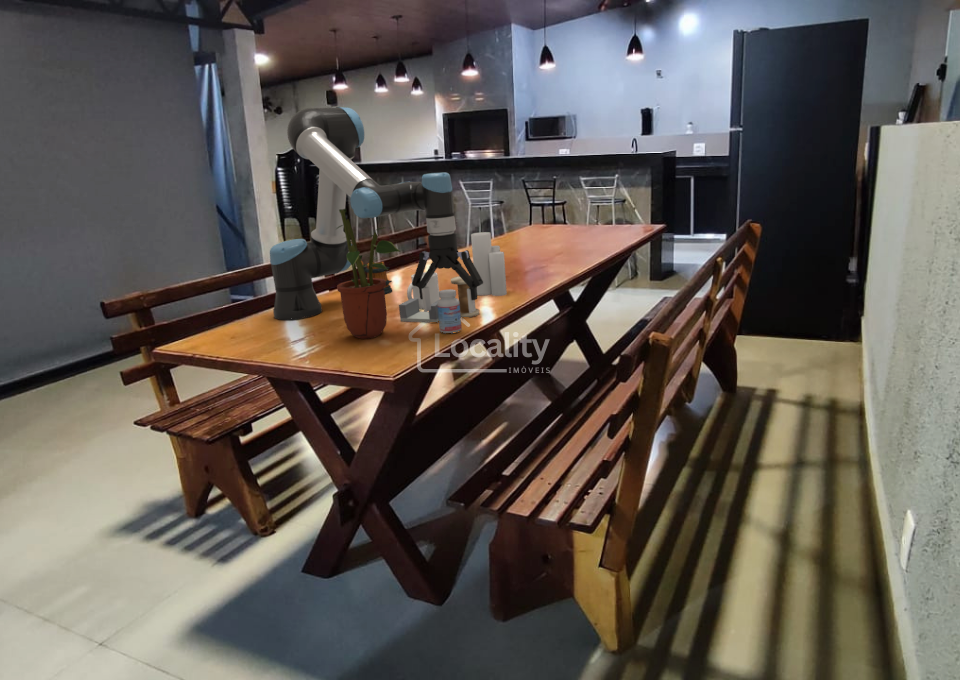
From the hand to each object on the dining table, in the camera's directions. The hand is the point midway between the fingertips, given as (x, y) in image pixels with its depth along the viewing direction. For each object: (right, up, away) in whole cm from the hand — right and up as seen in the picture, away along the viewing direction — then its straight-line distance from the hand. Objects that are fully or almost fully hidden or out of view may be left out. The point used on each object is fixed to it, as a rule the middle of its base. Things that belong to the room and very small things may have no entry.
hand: (449, 311), depth 183 cm
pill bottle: (0, -6, +2) cm, 6 cm away
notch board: (-8, -1, +17) cm, 19 cm away
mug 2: (-29, +9, +58) cm, 65 cm away
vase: (+12, +8, +42) cm, 45 cm away
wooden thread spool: (+4, 0, +18) cm, 18 cm away
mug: (-10, +2, +30) cm, 32 cm away
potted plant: (-21, -6, +5) cm, 23 cm away
